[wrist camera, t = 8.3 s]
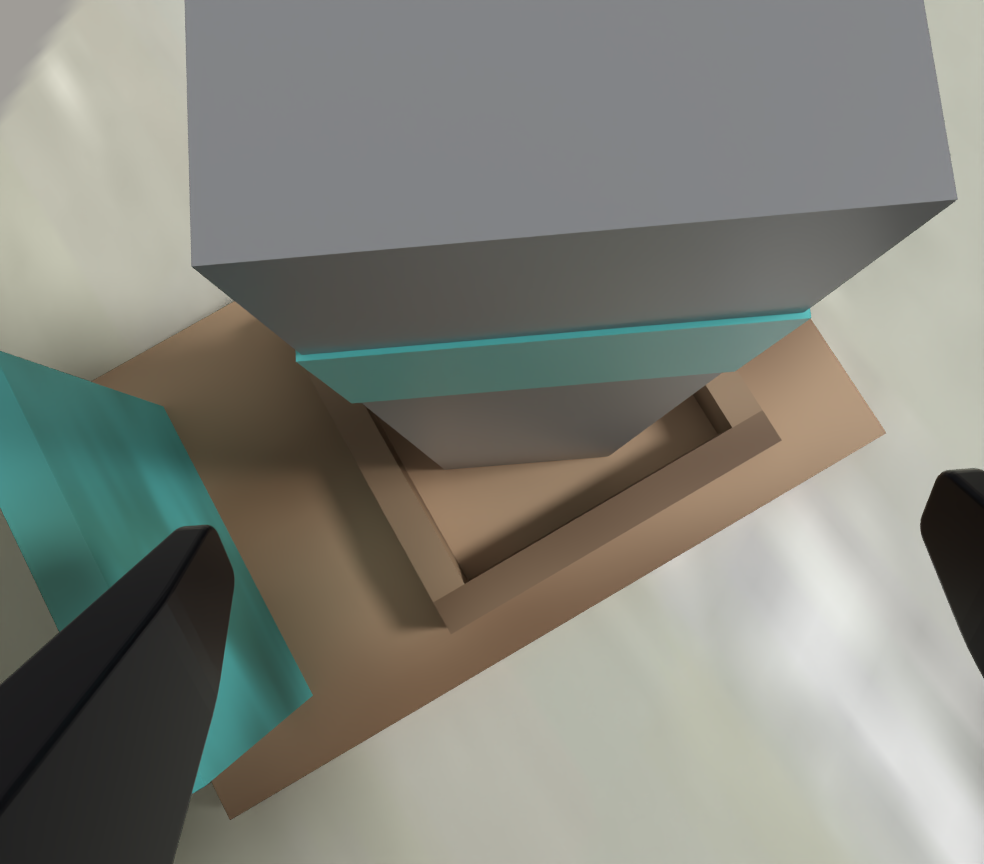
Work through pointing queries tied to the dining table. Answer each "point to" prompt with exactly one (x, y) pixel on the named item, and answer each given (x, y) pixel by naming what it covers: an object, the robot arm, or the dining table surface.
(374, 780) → the dining table surface
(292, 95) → the panel
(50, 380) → the tray
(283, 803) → the dining table surface
